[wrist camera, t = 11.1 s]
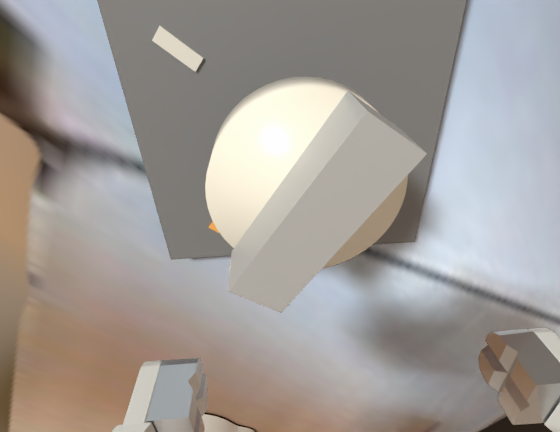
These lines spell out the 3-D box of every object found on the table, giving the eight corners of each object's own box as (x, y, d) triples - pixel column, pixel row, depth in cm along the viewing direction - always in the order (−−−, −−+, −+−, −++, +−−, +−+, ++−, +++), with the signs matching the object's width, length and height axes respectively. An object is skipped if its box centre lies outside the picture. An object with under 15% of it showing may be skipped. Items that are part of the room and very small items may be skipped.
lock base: (406, 228, 33) (445, 289, 26) (175, 245, 32) (154, 312, 26) (463, -68, 21) (563, -96, 14) (96, -50, 20) (17, -70, 13)
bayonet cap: (393, 63, 17) (453, 93, 12) (382, 238, 23) (419, 308, 18) (190, 91, 17) (164, 133, 12) (233, 258, 23) (227, 333, 18)
